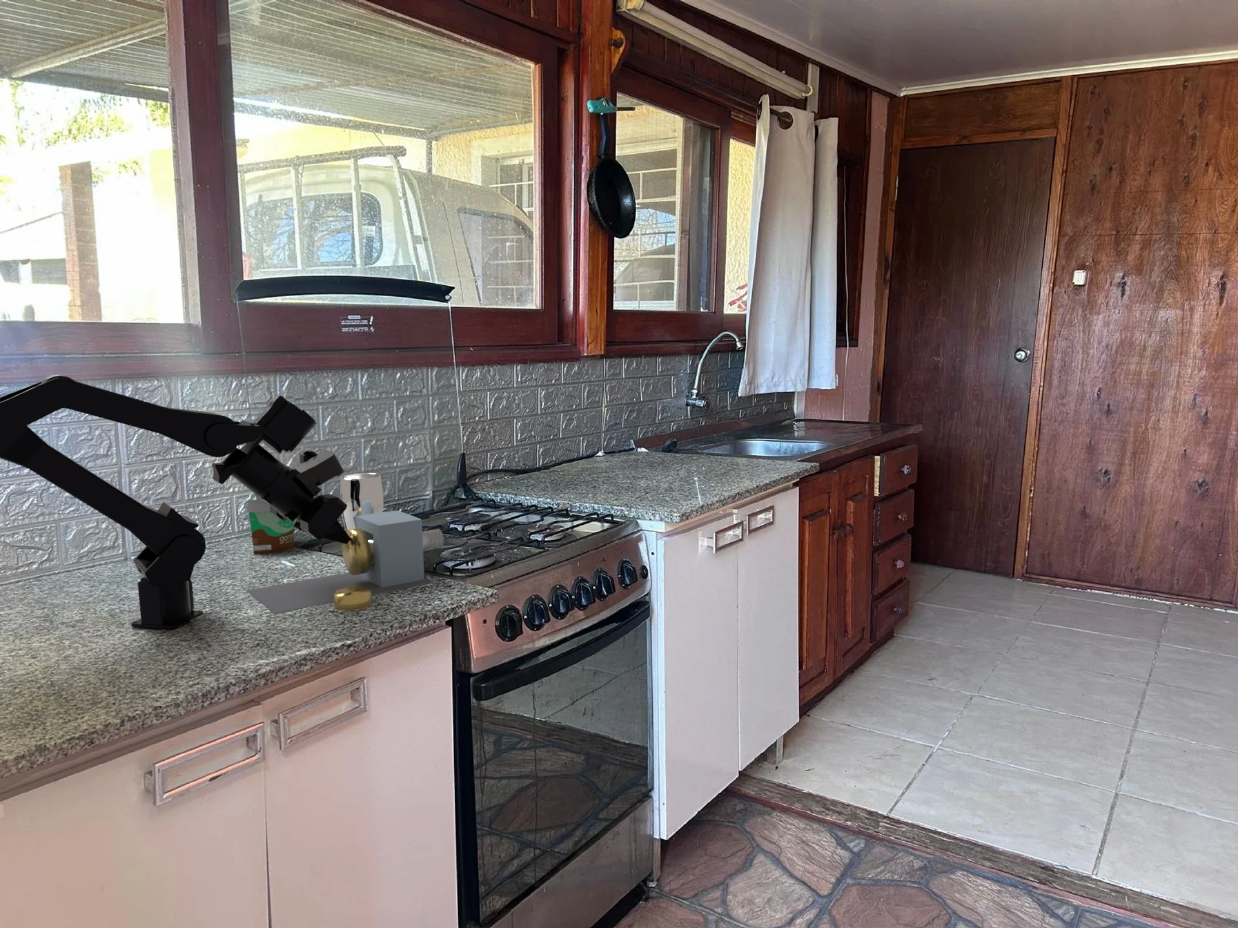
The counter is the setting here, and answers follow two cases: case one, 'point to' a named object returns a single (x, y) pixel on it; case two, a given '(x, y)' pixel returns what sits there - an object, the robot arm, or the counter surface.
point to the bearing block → (393, 547)
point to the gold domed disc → (352, 598)
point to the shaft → (363, 550)
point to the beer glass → (360, 496)
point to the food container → (269, 529)
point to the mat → (317, 591)
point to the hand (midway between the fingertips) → (348, 541)
